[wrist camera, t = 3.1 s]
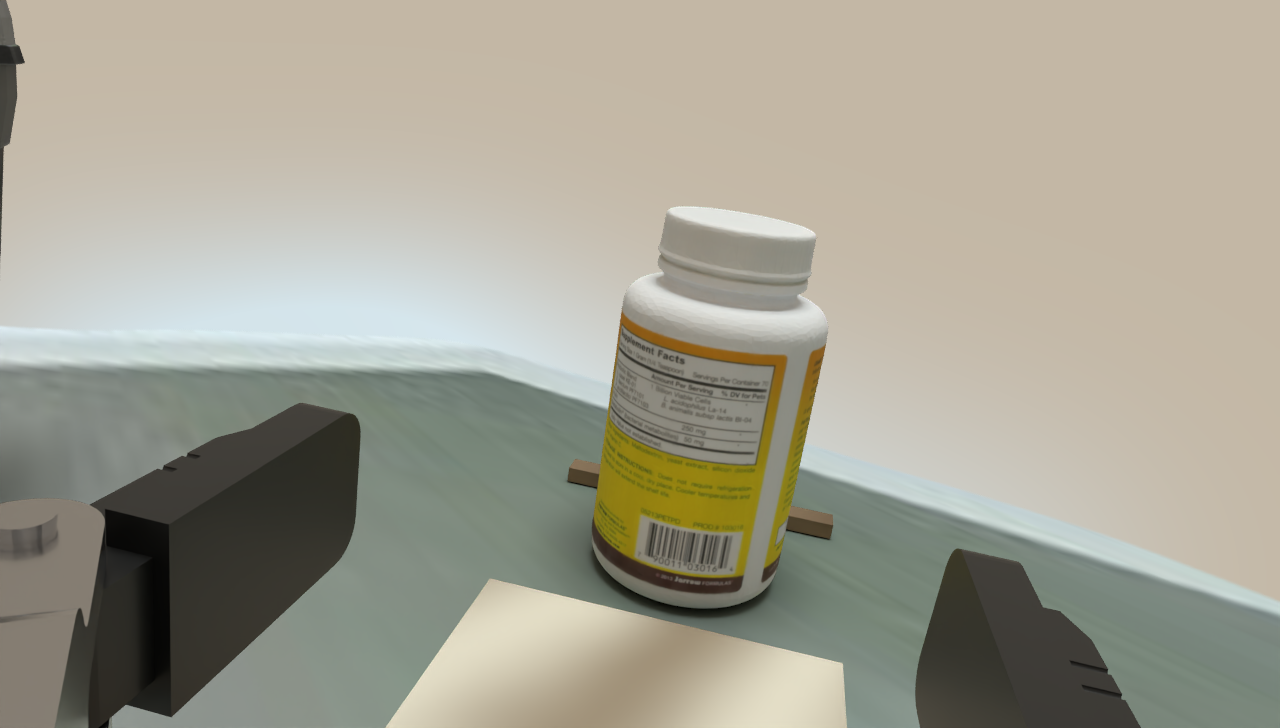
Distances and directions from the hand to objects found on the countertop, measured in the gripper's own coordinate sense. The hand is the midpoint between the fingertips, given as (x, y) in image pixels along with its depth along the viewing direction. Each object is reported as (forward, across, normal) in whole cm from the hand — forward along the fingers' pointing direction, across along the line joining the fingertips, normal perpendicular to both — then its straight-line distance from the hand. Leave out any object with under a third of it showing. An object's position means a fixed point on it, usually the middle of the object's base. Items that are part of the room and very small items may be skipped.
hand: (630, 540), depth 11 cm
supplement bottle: (+12, 0, +7) cm, 15 cm away
